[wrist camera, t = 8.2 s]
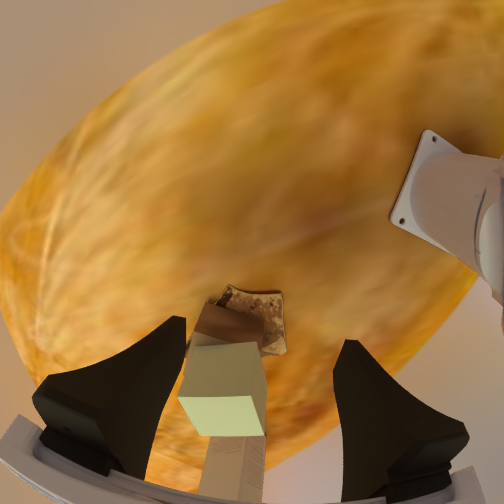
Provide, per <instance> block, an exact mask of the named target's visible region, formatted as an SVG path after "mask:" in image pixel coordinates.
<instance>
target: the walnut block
mask: <svg viewBox="0 0 504 504" xmlns="http://www.w3.org/2000/svg"><path fill="white" fill-rule="evenodd" d="M263 331H264V320H262V319H259V318H256V317H252V316H249V315H246V314H242V313H239V312H236V311H233V310H229V309H226V308H223V307H220V306H217V305H214V304H211V303H208V302H206V303H205V305H204V308H203V310H202V312H201V314H200V317H199V319H198V321H197V324H196V326H195V328H194V331H193V335H192V339H191V343H190V347H189V352H188V356H187V360H186V365H185V369H184V373H183V375H184V376H185V374H186V371H187V368H188V365H189V363H190V360H191V357H192V355H193V352H194V349H195V347H196V346H210V345H224V344H235V343H246V342H256V341H257V345H258V349H259V353H260V354H261V352H262V342H263Z"/></svg>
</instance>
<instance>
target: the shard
mask: <svg viewBox="0 0 504 504" xmlns="http://www.w3.org/2000/svg"><path fill="white" fill-rule="evenodd" d="M214 305H217V306H220V307H223V308H226V309H229V310H233V311H236V312H239V313H242V314H246V315H249V316H252V317H256V318H259V319H262V320H264V331H263V342H262V352H261V354H260V357H266V356H274V355H281V354H283V353H285V352H286V351H287V347H286V338H285V330H284V322H283V299H282V295H281V293H278V294H249V293H245V292H242V291H239V290H237V289H236V288H235V287H233V286H231V285H229V284H228V285H227V286H226V288H225V290H224V291H223V293H222V294H221V296H220V297H219V299H218V300H217V301H216V302H215V303H214ZM192 335H193V333H192ZM192 335H191V336H190V338H189V340H188V343H187V344H186V354H185V358H187V356H188V352H189V347H190V343H191V339H192Z"/></svg>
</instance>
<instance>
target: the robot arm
mask: <svg viewBox="0 0 504 504" xmlns="http://www.w3.org/2000/svg"><path fill="white" fill-rule="evenodd" d="M432 137H434V138H435V141H434V142H433V141H432ZM401 218H403V222H402V223H399V221H400V219H401ZM390 221H391V222H392V223H393V224H394V225H396V226H398V227H400V228H402V229H404V230H406V231H408V232H410V233H412V234H414V235H416V236H418V237H420V238H422V239H424V240H426V241H427V242H429V243H431V244H433V245H435V246H437V247H439V248H441V249H442V250H444V251H446V252H448V253H450V254H451V255H453V256H455V257H457V258H458V259H459V260H461V261H462V262H463V263H464V264H466V265H467V266H468V267H469V268H471V269H472V270H473V271H474V272H476V273H477V274H478V275H479V276H480V277H482V278H483V279H484V280H485V281H486V282H487V283H488V284H489V285H490V286H491V289H492V297H493V298H494V299H495V300H496V301H497V302H498V303H499V304H501V305H502V306H503V313H502V319H501V320H502V330H503V334H504V154H503V155H502V156H501V157H500V159H496V158H491V157H485V156H478V155H471V154H464V153H462V152H461V151H460V150H458V149H457V148H456V147H454V146H453V145H452V144H450V143H449V142H447V141H446V140H445V139H443V138H442V137H440V136H439V135H437V134H436V133H434V132H433V131H431V130H425V131H424V132H423V134H422V137H421V140H420V142H419V145H418V148H417V151H416V154H415V156H414V159H413V162H412V164H411V167H410V170H409V172H408V175H407V177H406V180H405V182H404V185H403V187H402V190H401V192H400V194H399V197H398V199H397V201H396V204H395V206H394V208H393V211H392V213H391V215H390ZM185 354H186V318H184V317H178V316H172V317H170V318H169V319H168V320H166V321H165V322H164V323H163V324H161V325H160V326H159V327H157V328H156V329H155V330H154V331H152V332H151V333H150V334H148V335H147V336H145V337H144V338H143V339H141V340H140V341H138V342H137V343H135V344H134V345H132V346H131V347H129V348H127V349H126V350H124V351H122V352H120V353H118V354H116V355H114V356H112V357H110V358H108V359H106V360H103V361H101V362H98V363H96V364H93V365H90V366H87V367H84V368H81V369H77V370H73V371H69V372H63V373H58V374H52V375H48V376H47V377H46V379H45V380H44V381H43V382H42V384H41V385H40V386H39V388H38V389H37V390H36V392H35V393H34V394H33V396H32V400H33V404H34V406H35V408H36V410H37V411H38V413H39V415H40V416H41V418H42V419H43V421H44V422H45V424H46V425H47V426H46V428H45V429H44V431H43V430H42V429H41V428H40V427H39V426H37V425H36V424H34V423H33V422H31V421H30V420H28V419H27V418H25V417H23V416H22V415H20V414H19V415H18V416H17V417H16V418H15V420H14V421H13V423H12V424H11V425H10V427H9V429H8V430H7V431H6V433H5V434H4V436H3V437H2V438H1V440H0V461H1V462H2V463H3V464H4V465H5V466H6V467H8V468H9V469H10V470H11V471H12V472H13V473H14V474H15V475H16V476H18V477H19V478H20V479H21V480H22V481H24V482H25V483H26V484H28V485H29V486H31V487H32V488H34V489H35V490H37V491H38V492H40V493H41V494H43V495H44V496H46V497H47V498H49V499H51V500H52V501H54V502H55V503H57V504H265V503H252V502H242V501H234V500H226V499H220V498H213V497H208V496H202V495H197V494H192V493H188V492H183V491H179V490H175V489H171V488H167V487H164V486H160V485H157V484H153V483H150V482H147V481H144V479H145V474H146V469H147V464H148V460H149V456H150V452H151V448H152V444H153V440H154V437H155V433H156V430H157V426H158V423H159V420H160V417H161V413H162V411H163V408H164V406H165V404H166V401H167V399H168V397H169V395H170V393H171V391H172V388H173V386H174V384H175V382H176V380H177V377H178V375H179V373H180V371H181V368H182V364H183V361H184V358H185ZM333 384H334V393H335V398H336V403H337V408H338V413H339V418H340V423H341V428H342V436H343V487H342V497H341V502H340V503H328V504H486V502H485V498H484V495H483V492H482V489H481V486H480V483H479V481H478V478H477V475H476V472H475V470H474V467H473V466H470V467H467V468H465V469H462V470H459V471H457V472H454V473H453V474H451V475H450V474H449V471H448V470H450V469H451V467H452V466H451V463H450V461H451V460H452V459H453V458H454V457H455V456H456V455H457V454H458V453H459V452H460V451H461V450H462V449H463V448H464V447H465V446H466V445H467V443H468V441H469V438H470V437H469V434H468V432H467V430H466V428H465V426H464V423H463V422H460V421H458V420H455V419H453V418H451V417H448V416H446V415H444V414H442V413H440V412H438V411H436V410H434V409H433V408H431V407H429V406H427V405H426V404H424V403H423V402H421V401H420V400H418V399H417V398H416V397H414V396H413V395H412V394H410V393H409V392H408V391H407V390H405V389H404V388H403V387H402V386H401V385H399V384H398V383H397V382H396V381H395V380H394V379H393V378H392V377H391V376H390V375H389V374H388V373H387V372H386V371H385V370H384V369H383V368H382V367H381V366H380V364H379V363H378V362H377V361H376V360H375V359H374V358H373V357H372V356H371V354H370V353H369V352H368V351H367V350H366V349H365V348H364V346H363V345H362V344H361V343H360V342H359V341H358V340H347V339H345V342H344V344H343V347H342V350H341V352H340V355H339V357H338V360H337V362H336V365H335V367H334V369H333Z"/></svg>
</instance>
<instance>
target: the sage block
mask: <svg viewBox="0 0 504 504" xmlns="http://www.w3.org/2000/svg"><path fill="white" fill-rule="evenodd" d="M177 398H178V399H179V401H180V403H181V405H182V406H183V408H184V410H185V412H186V413H187V415H188V417H189V418H190V420H191V422H192V423H193V425H194V426H195V428H196V430H197V431H198V433H199V434H200V436H263V435H264V432H265V416H266V399H267V381H266V377H265V373H264V369H263V365H262V361H261V357H260V353H259V349H258V345H257V341H256V342H246V343H235V344H224V345H210V346H196V347H195V349H194V352H193V355H192V357H191V360H190V363H189V365H188V368H187V371H186V374H185V376H184V379H183V382H182V384H181V387H180V390H179V393H178V395H177Z"/></svg>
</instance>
